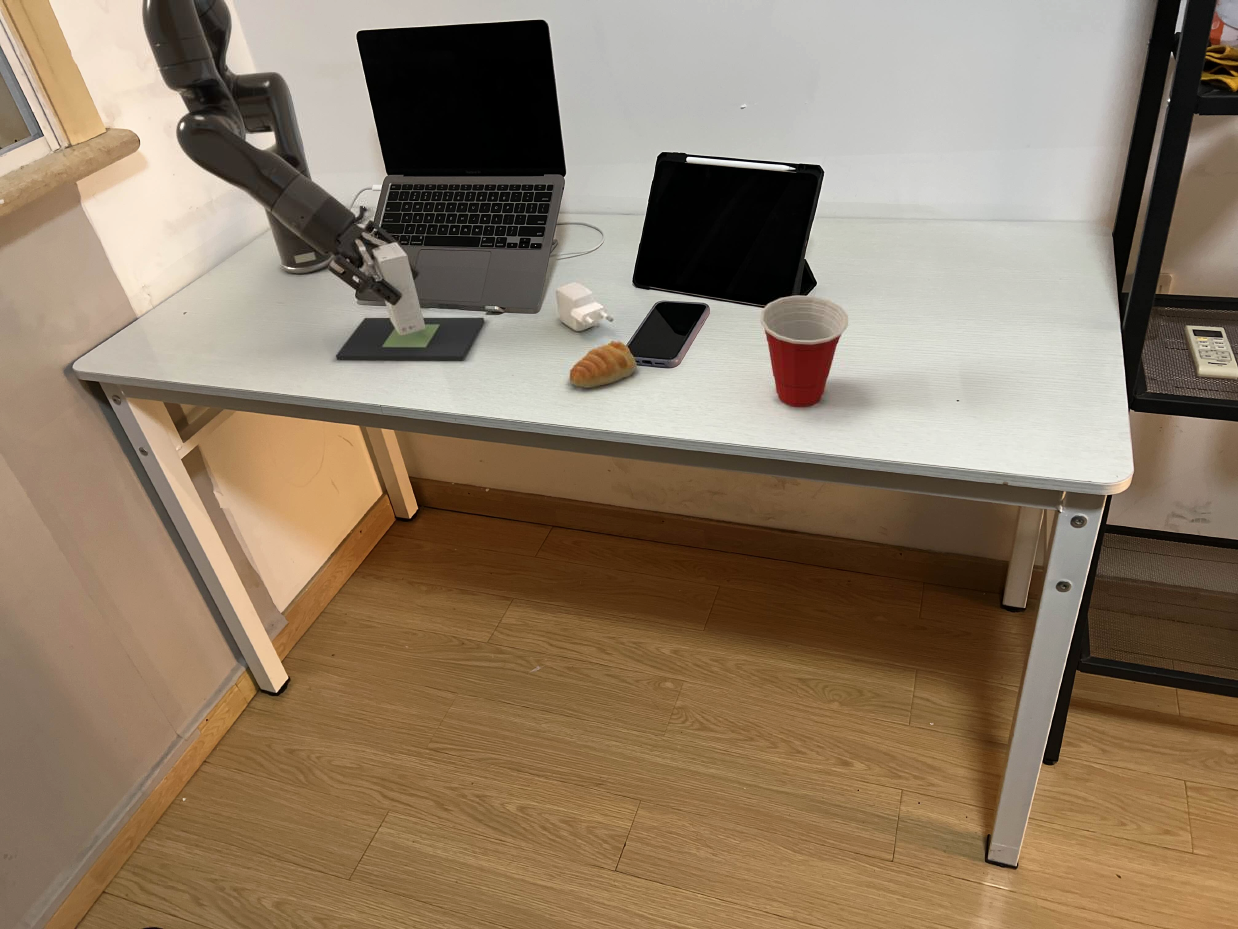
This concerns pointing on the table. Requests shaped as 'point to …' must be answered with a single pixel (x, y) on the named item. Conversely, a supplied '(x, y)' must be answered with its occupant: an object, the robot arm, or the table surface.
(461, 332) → the mat
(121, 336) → the table surface
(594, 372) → the pastry
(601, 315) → the power adapter
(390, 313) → the cosmetic box
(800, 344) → the plastic cup
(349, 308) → the table surface
